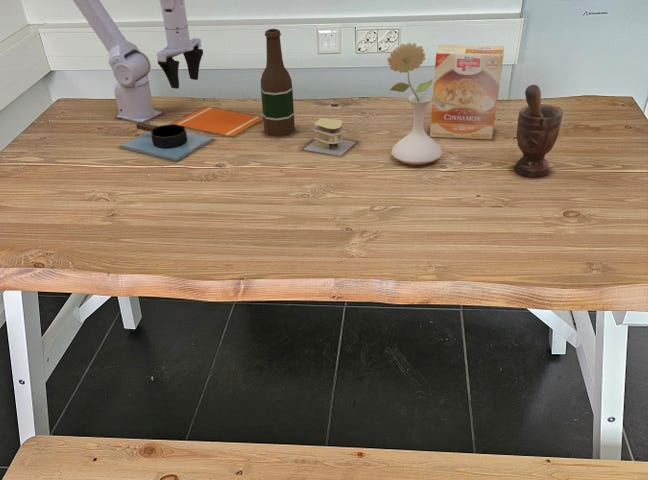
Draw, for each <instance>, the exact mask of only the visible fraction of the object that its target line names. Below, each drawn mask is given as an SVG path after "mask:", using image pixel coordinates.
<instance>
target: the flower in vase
mask: <svg viewBox="0 0 648 480" xmlns="http://www.w3.org/2000/svg"><path fill="white" fill-rule="evenodd" d="M425 60H426V53H425V52H424V49H423V45H417V43H416V42H413V43H411V42H407V43H406V44H405V43H401V44H400V45H399V46H396V47H395V48H394V49H393V50H392V51H391V52H390V54H389V57H387V62H388V66H389V68H390V70H392V71H394V72H399V73H400V74H401V73H406V74H407V82H408V83H405V82H402V81H401V82H398V83H395V84H394V85H392V86H391V88H389V91H391V92H399V93H404V92H406V91H407V90H408V88H410V90H411V91H412V92H413V94H412V95H409V96H408V98H407V99H408V101H409V102H410V105H411V107H412V114H413V115H412V116H413V122H412V123H413V124H412V129H411V131H410V132H409V133H408V134H407V135H406V136H404V137H403V138H401V139H400V140H399V141H397V142H396V143H395V144H394V145H393V147H392V149H391V155H392V157H393V159H395V160H396V161H398V162H400V163H404V164H408V165H426V164H431V163H433V162H436V161H437V160H439V159H440V157H441V156H442V155H443V150H442V147H441V146H440V145H439V143H438V142H437V141H436V140H434V139H433V137H430V135H429V134H427V133H426V131H425V128H424V121H425V114H426V110H427V107H428V105H429V104H430V102H431V101H432V100H433V97H432V96H431V95H428V94H425V93H424V94H422V93H423V92H425V91H427V90H428V89H429V88H430V86H432V83H433V81H434V78H432V79H430V80H428V81H425V82H423V83H420V84H418V86H417V87H416V90H414V87H413V86H412V84H411V81H410V72H412V71H414V70H416V69H419V68H420V67H421V65H422V64H423V62H424V61H425Z"/></svg>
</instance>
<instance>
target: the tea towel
mask: <svg viewBox="0 0 648 480" xmlns="http://www.w3.org/2000/svg"><path fill="white" fill-rule="evenodd" d="M262 120H263V116H255V115H250V114H245V113H241V112H234V111H229V110H224V109H219V108H214V107H208V106H204V107H202V108H200V109H199V110H198V109H197V110H196V111H194V112H192V113H190V114H189V115H186V116H184V117H182V118H180V119H178V120H176V121H174V122H172V124H176V125H181V126H185V128H191V129H196V130H201V131H205V132H209V133H210V132H211V133H215V134H220V135H224V136H229V137H234V136H236V135H237V134H239V133H240V132H242V131H245V130H246V129H248V128H249V127H251V126H253V125H255V124H257V123H258V122H260V121H262Z"/></svg>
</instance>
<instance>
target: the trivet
mask: <svg viewBox="0 0 648 480" xmlns="http://www.w3.org/2000/svg"><path fill="white" fill-rule="evenodd" d="M157 126H158V125H157ZM159 126H160V125H159ZM159 126H158V127H159ZM186 135H187V142H186V143H185V144H184V145H182V146H179V147H176V148H169V149H162V148H157V147H155V146H154V145H153V141H152V136H151V132H150V131H146V132H144V133H142V134H140V135H138V136H136V137H135V138H132V139H130V140H128V141H126V142H124V143H122V144H120V146H121V147H120V148H121V149H124V150H127V151H133V152H137V153H139V154H144V155H147V156H148V155H149V156H153V157H156V158H162V159H164V160H165V159H166V160H170V161H173V162H178V161H180V160H181V159H183V158H186V156H188V155H189V154H190V153H192V152H194V151H196V150H198V149H199V148H202V147H203V146H205V145H206V144H208V143H210V142H212V141H214V138H213V137H211V136H207V135H201V134H198V133H197V134H196V133H193V132H188V131H186Z"/></svg>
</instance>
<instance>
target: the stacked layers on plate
mask: <svg viewBox="0 0 648 480" xmlns="http://www.w3.org/2000/svg"><path fill="white" fill-rule="evenodd" d="M343 123H344V121H343V120H341V119H334V118H322V117H320V118H318V119H317V120H316V121H315V122H313V125H316V126H315V127H313V132H314V133H315V134H314V135H315V136H314V137H313V139H314V140H313V141H312V142H310V143H309V144H308V145H307V146H305V147H304V148H303V149H302V150H303V151H307V152H314V153H321V154H326V155H332V156H339V157H341V156H342V155H344V154H345V153H346V152H347V151H348V150H349V149H351V147H353V145H355V144H356V143H357V141H354V140H353V141H352V140H347V139H343V138H344V136H343V134H342V131H343V129H344V127H343Z"/></svg>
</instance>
